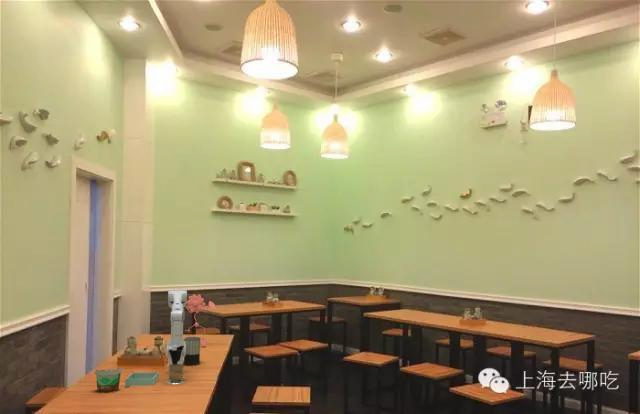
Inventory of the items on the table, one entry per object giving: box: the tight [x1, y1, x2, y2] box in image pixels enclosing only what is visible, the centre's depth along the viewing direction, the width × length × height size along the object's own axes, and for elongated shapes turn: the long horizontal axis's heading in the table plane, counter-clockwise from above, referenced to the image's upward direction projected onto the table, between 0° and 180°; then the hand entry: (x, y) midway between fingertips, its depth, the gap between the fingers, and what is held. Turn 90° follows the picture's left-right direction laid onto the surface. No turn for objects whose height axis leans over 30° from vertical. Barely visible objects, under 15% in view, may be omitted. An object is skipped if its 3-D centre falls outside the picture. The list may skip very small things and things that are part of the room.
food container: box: [94, 367, 123, 393], centre depth 263 cm, size 12×6×10 cm, turn 105°
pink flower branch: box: [185, 293, 216, 347], centre depth 370 cm, size 15×26×35 cm, turn 88°
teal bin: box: [124, 371, 160, 388], centre depth 277 cm, size 13×13×4 cm
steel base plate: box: [164, 378, 187, 385], centre depth 278 cm, size 10×10×1 cm
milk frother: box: [183, 336, 202, 367], centre depth 319 cm, size 14×16×15 cm
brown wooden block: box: [168, 363, 184, 383], centre depth 279 cm, size 5×6×8 cm
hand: (176, 362), depth 279 cm, fingers open, 7 cm apart
